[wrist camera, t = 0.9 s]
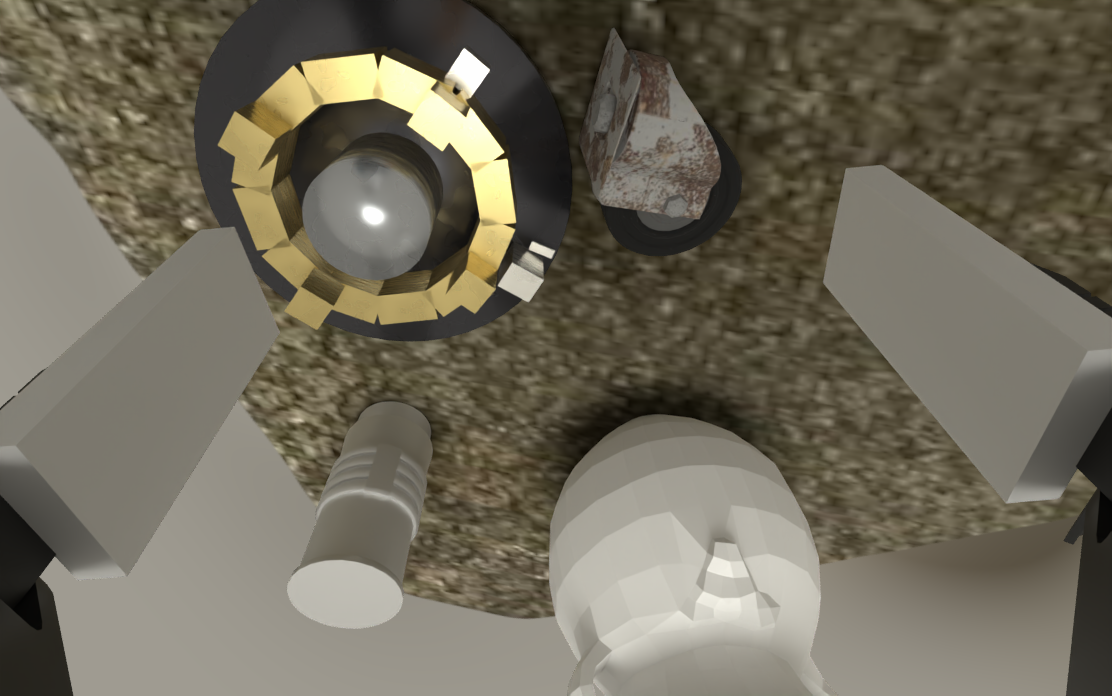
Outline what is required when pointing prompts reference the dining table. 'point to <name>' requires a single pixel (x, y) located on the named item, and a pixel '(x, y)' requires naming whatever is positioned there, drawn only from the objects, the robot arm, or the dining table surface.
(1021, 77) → the dining table surface
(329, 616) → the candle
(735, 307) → the dining table surface
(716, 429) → the pitcher
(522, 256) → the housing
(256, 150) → the ring nut
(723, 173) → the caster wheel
